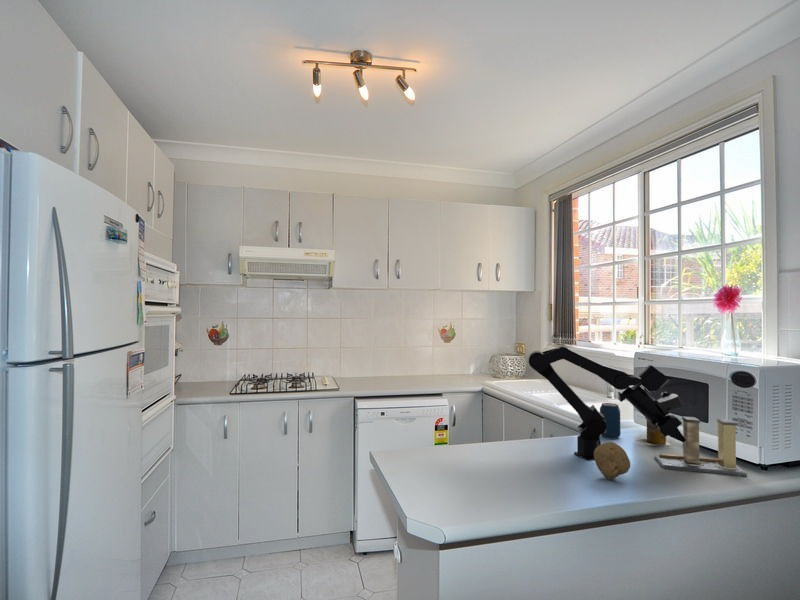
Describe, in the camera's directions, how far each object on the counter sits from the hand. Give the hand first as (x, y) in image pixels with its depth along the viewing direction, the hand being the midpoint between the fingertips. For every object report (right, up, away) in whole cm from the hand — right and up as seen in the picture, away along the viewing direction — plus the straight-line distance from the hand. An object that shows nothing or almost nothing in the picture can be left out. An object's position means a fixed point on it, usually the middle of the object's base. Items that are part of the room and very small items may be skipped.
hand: (684, 441), depth 135 cm
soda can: (-8, -8, +31) cm, 33 cm away
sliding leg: (+2, -6, -1) cm, 6 cm away
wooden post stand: (+3, -7, -1) cm, 8 cm away
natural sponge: (-28, -7, -12) cm, 31 cm away
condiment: (+4, -8, +24) cm, 26 cm away
